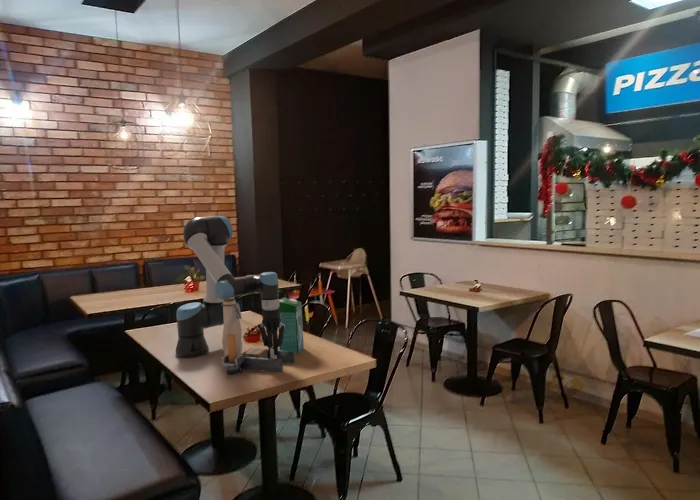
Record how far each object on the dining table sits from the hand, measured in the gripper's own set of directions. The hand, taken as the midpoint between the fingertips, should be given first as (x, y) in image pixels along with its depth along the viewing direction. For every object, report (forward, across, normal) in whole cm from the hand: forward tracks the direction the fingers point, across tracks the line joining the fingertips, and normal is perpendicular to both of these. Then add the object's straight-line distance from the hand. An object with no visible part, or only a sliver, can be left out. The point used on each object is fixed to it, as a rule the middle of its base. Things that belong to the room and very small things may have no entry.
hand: (273, 362), depth 225 cm
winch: (+2, -13, -11) cm, 17 cm away
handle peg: (-2, -13, -11) cm, 17 cm away
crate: (+2, -9, 0) cm, 9 cm away
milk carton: (+2, -2, +21) cm, 21 cm away
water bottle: (+2, -24, +6) cm, 24 cm away
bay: (+2, -4, 0) cm, 4 cm away
